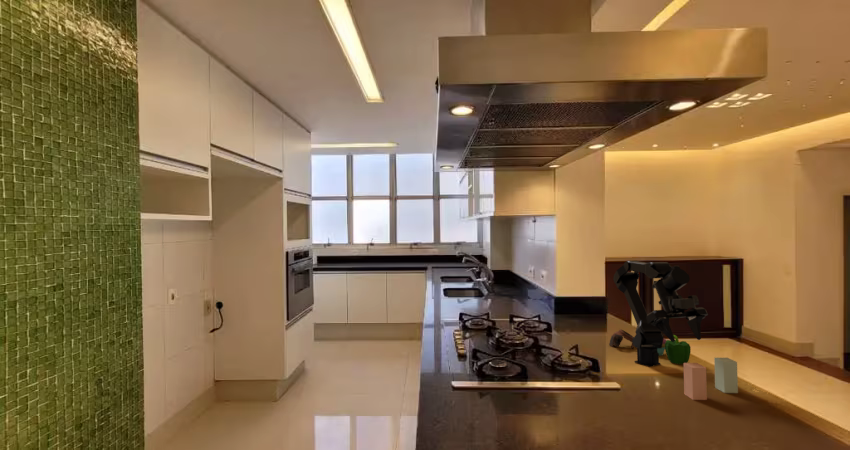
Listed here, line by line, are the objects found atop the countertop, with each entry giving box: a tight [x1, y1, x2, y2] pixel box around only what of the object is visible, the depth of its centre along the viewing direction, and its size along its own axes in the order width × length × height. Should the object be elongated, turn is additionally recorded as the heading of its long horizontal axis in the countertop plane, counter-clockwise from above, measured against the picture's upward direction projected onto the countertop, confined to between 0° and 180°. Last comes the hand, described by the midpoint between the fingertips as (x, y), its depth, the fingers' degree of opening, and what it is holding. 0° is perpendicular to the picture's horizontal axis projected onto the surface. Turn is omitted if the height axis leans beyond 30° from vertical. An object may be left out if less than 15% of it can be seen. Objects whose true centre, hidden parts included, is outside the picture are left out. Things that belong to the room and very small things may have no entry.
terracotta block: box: [683, 362, 708, 401], centre depth 127 cm, size 4×4×10 cm
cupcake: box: [657, 338, 667, 356], centre depth 172 cm, size 9×8×12 cm
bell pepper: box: [664, 334, 692, 365], centre depth 160 cm, size 8×8×10 cm
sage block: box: [713, 357, 739, 394], centre depth 132 cm, size 4×4×10 cm
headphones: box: [608, 328, 635, 349], centre depth 182 cm, size 12×10×8 cm
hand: (686, 340), depth 138 cm, fingers open, 9 cm apart
